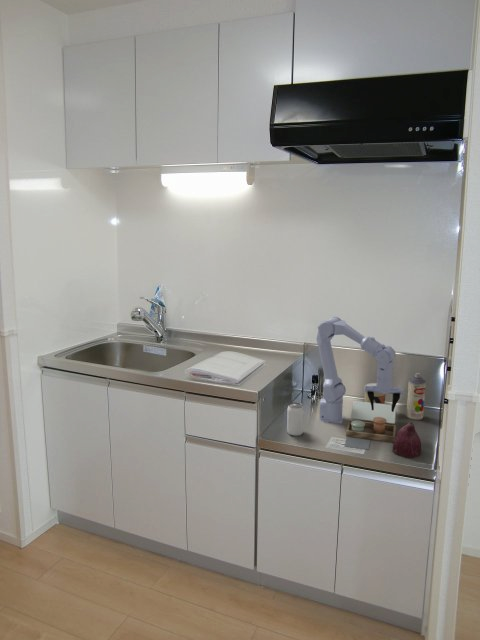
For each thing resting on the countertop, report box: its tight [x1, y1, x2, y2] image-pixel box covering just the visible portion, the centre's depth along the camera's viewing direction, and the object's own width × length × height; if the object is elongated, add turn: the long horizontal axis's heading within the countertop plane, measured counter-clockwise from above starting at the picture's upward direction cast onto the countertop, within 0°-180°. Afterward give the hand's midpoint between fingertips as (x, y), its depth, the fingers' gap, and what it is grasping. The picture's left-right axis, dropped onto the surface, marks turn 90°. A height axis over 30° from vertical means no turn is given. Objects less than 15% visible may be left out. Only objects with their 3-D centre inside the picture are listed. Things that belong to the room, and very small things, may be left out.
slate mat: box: [344, 436, 371, 451], centre depth 191 cm, size 9×8×1 cm
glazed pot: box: [351, 420, 365, 432], centre depth 199 cm, size 5×5×4 cm
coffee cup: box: [364, 382, 386, 404], centre depth 219 cm, size 9×9×12 cm
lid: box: [350, 400, 397, 425], centre depth 208 cm, size 18×10×1 cm, turn 71°
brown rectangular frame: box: [345, 419, 397, 443], centre depth 203 cm, size 19×20×5 cm
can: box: [286, 401, 305, 437], centre depth 200 cm, size 6×6×12 cm
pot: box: [372, 417, 387, 435], centre depth 199 cm, size 5×5×6 cm
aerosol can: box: [406, 372, 427, 421], centre depth 212 cm, size 7×7×20 cm
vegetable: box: [392, 421, 422, 459], centre depth 182 cm, size 10×10×15 cm
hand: (382, 410), depth 198 cm, fingers open, 7 cm apart
